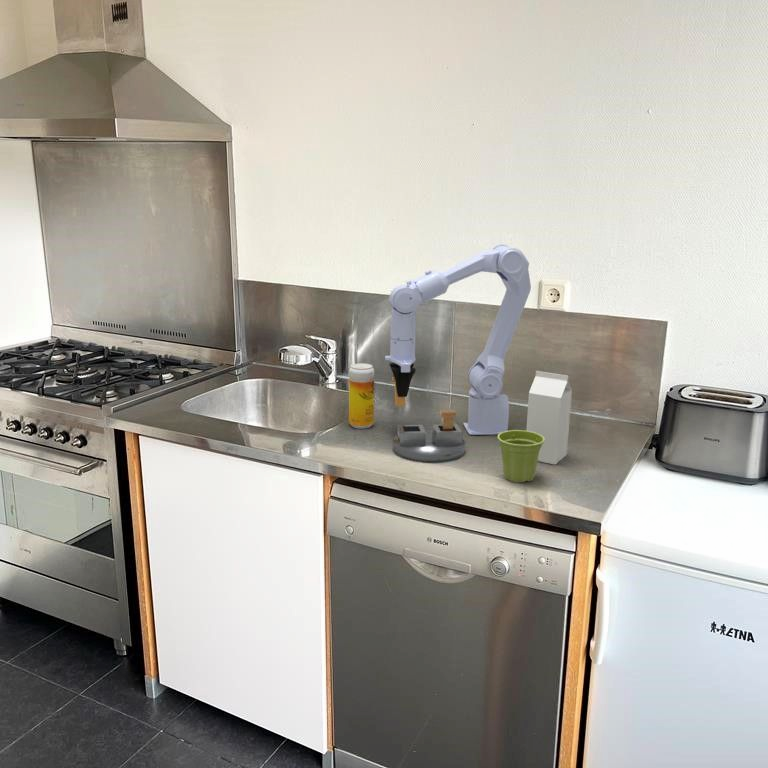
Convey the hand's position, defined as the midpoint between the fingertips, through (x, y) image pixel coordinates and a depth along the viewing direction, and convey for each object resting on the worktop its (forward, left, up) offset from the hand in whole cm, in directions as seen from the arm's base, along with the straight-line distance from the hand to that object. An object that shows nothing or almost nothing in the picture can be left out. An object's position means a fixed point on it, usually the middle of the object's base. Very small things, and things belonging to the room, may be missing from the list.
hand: (401, 394), depth 179 cm
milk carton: (-30, +18, -10) cm, 36 cm away
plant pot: (-21, +29, -10) cm, 37 cm away
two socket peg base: (-5, +12, -9) cm, 16 cm away
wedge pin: (0, 0, -2) cm, 3 cm away
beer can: (+9, -6, -10) cm, 14 cm away
